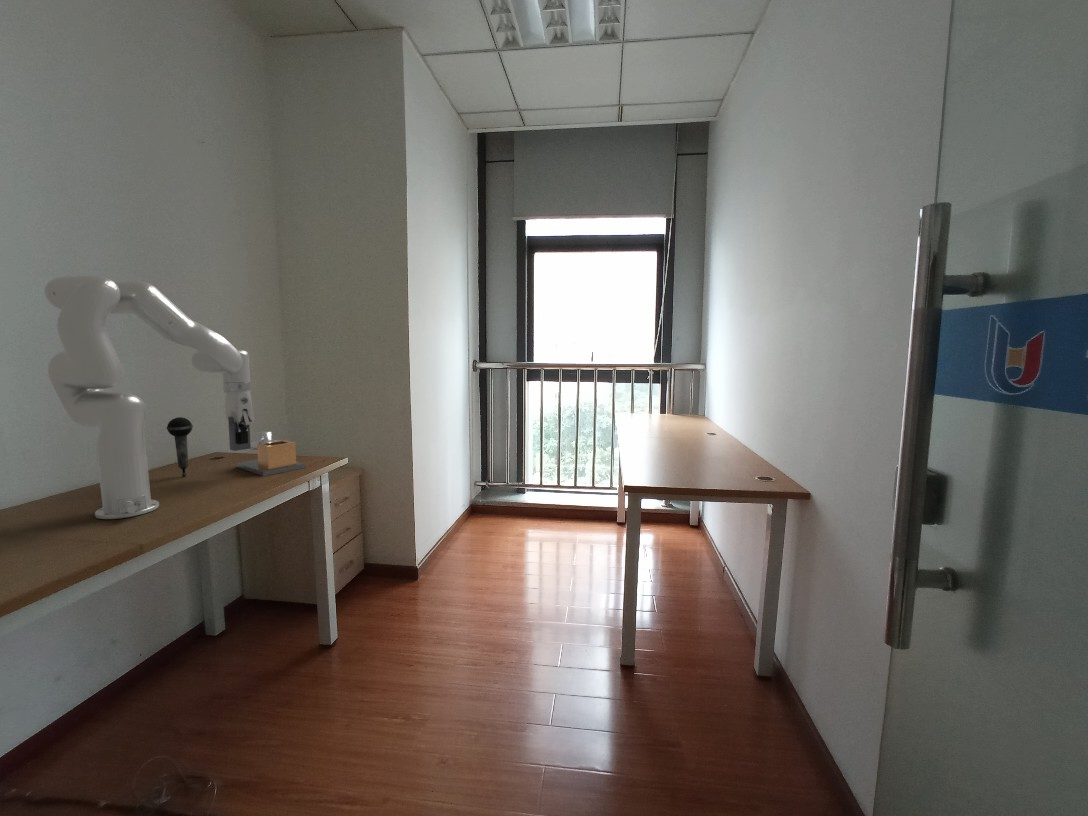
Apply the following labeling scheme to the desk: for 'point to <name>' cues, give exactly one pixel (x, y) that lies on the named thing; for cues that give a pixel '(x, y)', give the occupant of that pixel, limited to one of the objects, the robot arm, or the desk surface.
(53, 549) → the desk surface
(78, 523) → the desk surface
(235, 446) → the grey rectangular block
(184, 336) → the robot arm
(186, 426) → the microphone
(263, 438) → the orange slotted box
